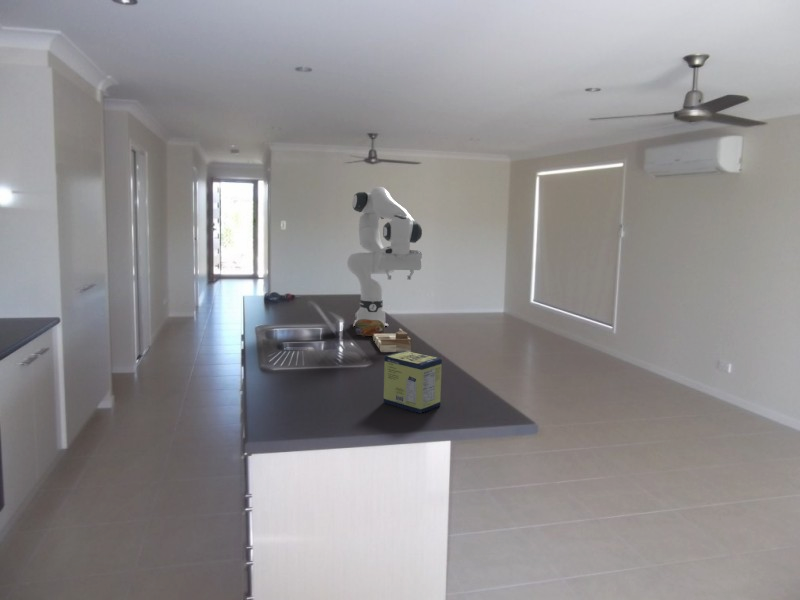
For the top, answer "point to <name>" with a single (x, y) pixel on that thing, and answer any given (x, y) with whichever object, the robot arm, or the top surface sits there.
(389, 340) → the board
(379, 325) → the tin
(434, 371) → the protein box
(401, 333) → the walnut block
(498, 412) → the top surface
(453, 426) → the top surface
